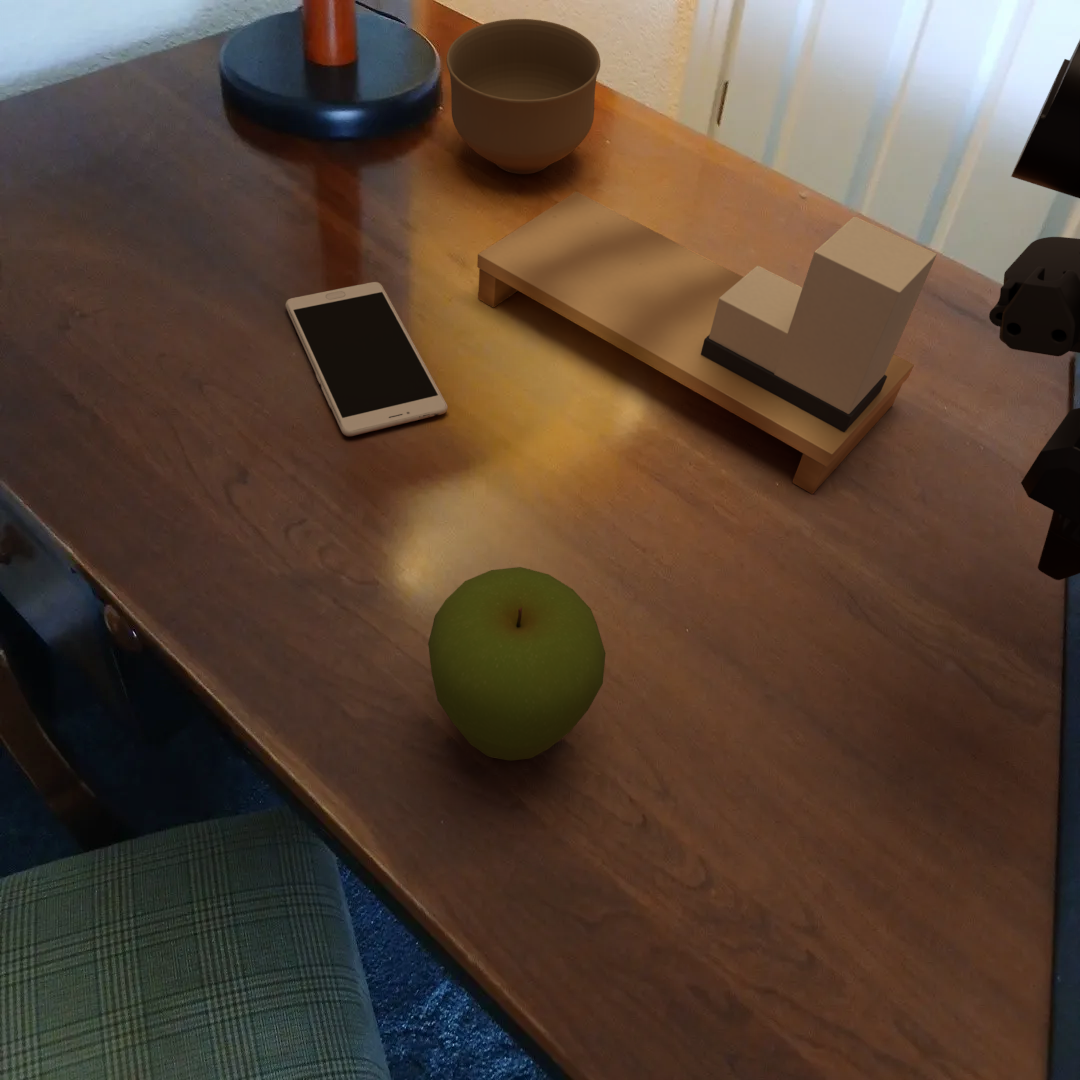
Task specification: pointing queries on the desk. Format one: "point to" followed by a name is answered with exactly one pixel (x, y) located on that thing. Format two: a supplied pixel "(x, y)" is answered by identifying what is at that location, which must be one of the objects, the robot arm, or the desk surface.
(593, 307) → the platform
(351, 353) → the smartphone
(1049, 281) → the robot arm
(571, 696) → the apple
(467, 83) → the bowl
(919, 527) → the desk surface
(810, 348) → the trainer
